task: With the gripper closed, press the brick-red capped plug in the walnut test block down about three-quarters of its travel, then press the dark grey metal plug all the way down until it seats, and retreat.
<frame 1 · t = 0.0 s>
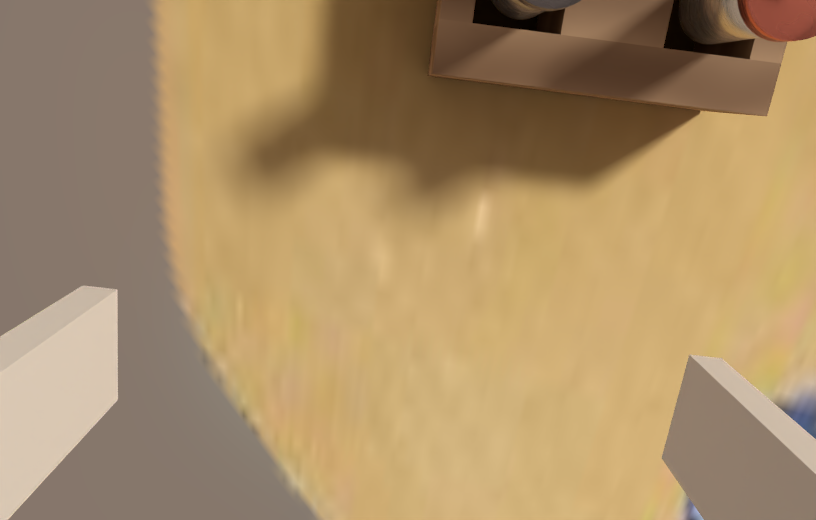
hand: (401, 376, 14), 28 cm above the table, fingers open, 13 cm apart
test block: (583, 9, 38), on the table
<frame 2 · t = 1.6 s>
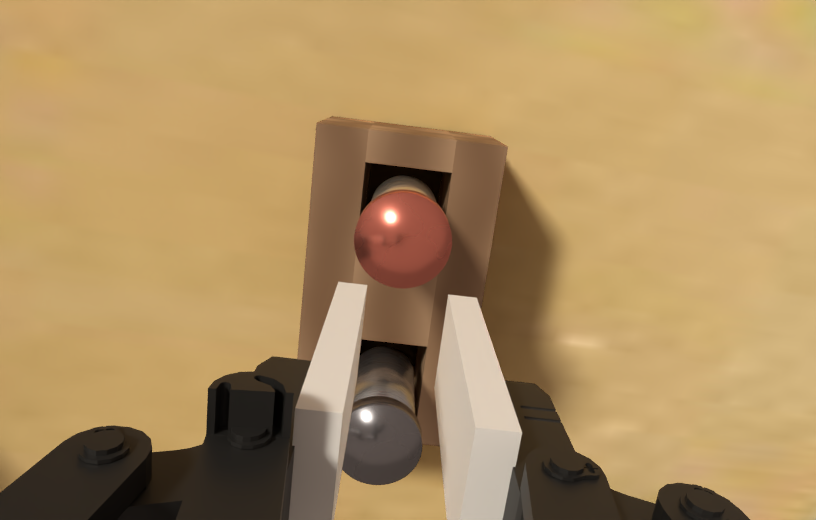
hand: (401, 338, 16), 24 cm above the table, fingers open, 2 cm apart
plug grey: (380, 406, 33), point 10 cm above the table, slide at 0.0 cm
plug red: (403, 223, 30), point 10 cm above the table, slide at 0.0 cm
test block: (394, 263, 41), on the table
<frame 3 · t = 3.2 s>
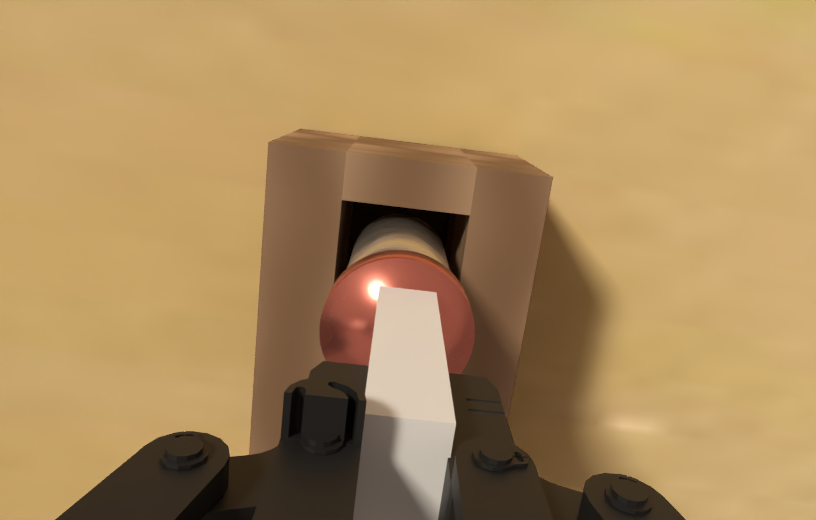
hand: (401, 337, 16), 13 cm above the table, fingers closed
plug red: (398, 290, 20), point 9 cm above the table, slide at 0.8 cm, touching gripper
test block: (387, 324, 31), on the table
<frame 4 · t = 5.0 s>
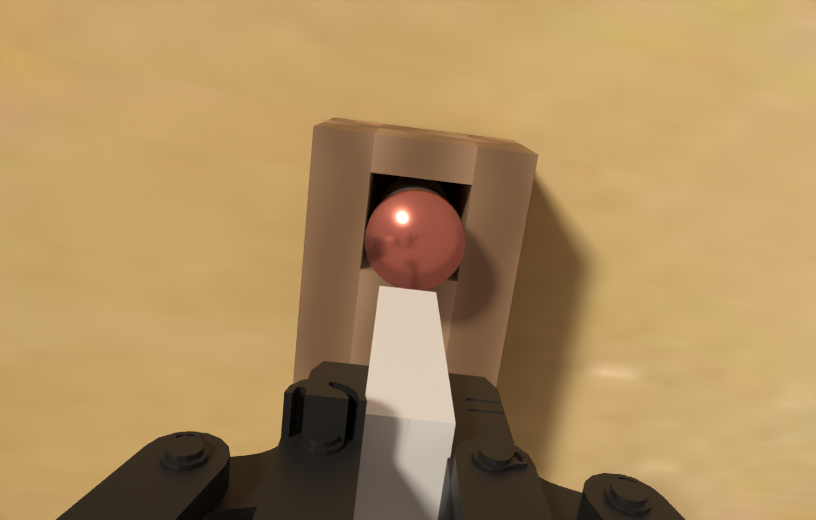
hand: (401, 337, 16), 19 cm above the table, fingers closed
plug red: (414, 223, 29), point 6 cm above the table, slide at 4.3 cm
test block: (404, 283, 37), on the table
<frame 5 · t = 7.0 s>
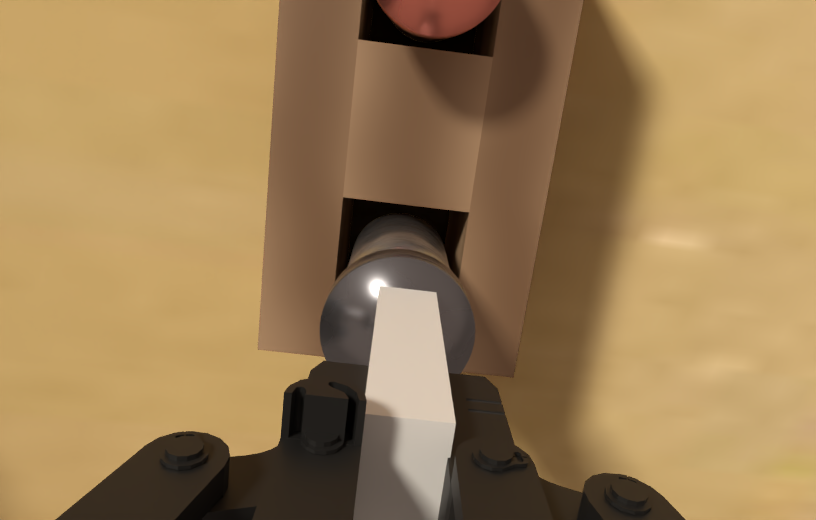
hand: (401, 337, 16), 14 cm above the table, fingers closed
plug grey: (398, 289, 20), point 10 cm above the table, slide at 0.5 cm, touching gripper
test block: (412, 118, 28), on the table
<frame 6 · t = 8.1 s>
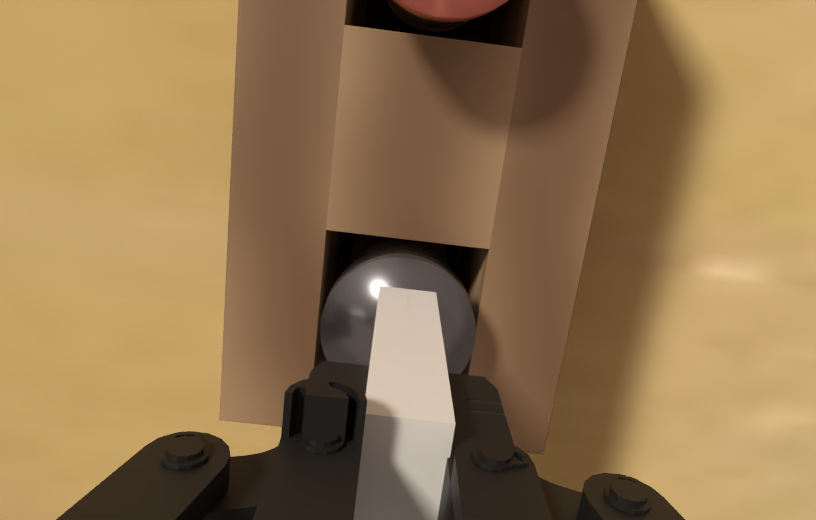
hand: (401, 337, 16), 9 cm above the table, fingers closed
plug grey: (398, 289, 20), point 5 cm above the table, slide at 5.7 cm, touching gripper
test block: (415, 126, 23), on the table
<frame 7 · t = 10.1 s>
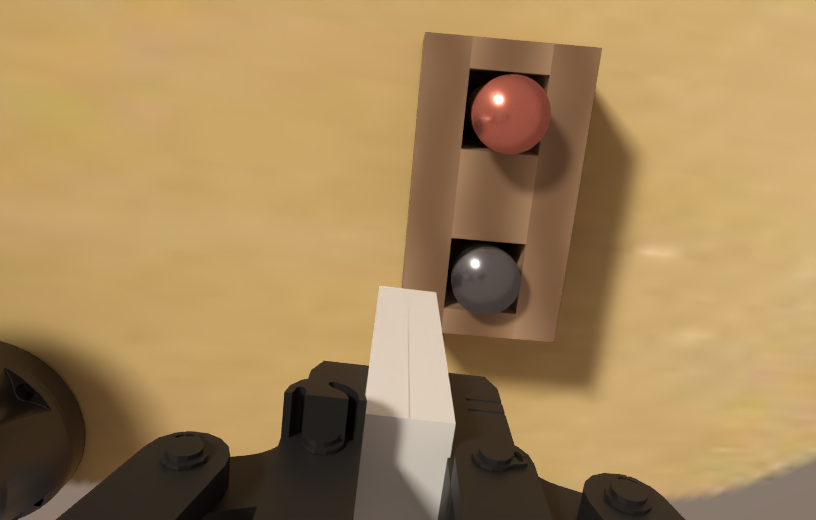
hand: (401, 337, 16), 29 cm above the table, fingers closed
plug grey: (480, 265, 41), point 4 cm above the table, slide at 5.8 cm
plug red: (502, 112, 37), point 6 cm above the table, slide at 4.3 cm
test block: (481, 180, 44), on the table
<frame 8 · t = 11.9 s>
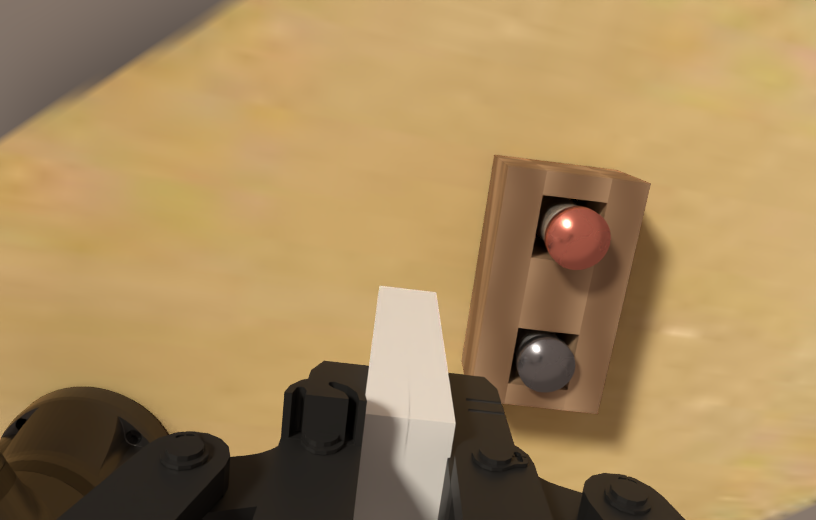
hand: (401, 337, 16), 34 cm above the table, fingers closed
plug grey: (536, 345, 49), point 4 cm above the table, slide at 5.8 cm
plug red: (565, 227, 45), point 6 cm above the table, slide at 4.3 cm
test block: (536, 269, 52), on the table
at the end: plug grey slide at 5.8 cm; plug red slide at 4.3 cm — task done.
